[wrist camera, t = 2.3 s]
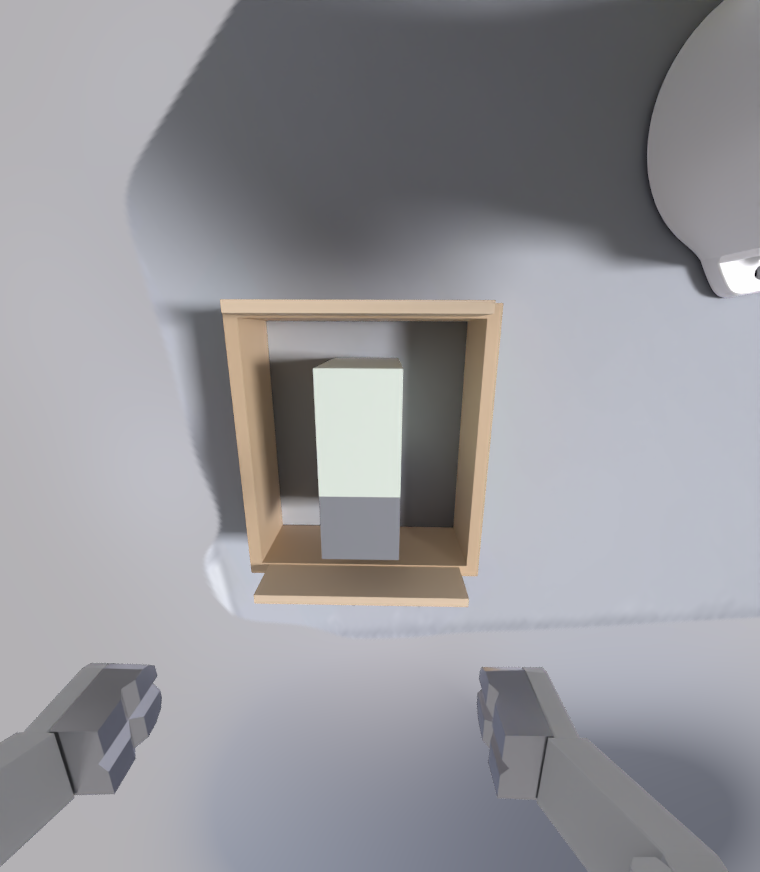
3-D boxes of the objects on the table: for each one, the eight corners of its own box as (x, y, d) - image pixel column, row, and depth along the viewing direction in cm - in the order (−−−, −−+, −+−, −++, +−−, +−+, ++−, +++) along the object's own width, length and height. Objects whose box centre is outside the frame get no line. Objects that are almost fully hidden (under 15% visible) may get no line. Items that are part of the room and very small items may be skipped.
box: (398, 358, 25) (403, 368, 18) (395, 498, 28) (399, 560, 21) (335, 357, 25) (312, 368, 18) (339, 497, 28) (321, 558, 21)
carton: (480, 309, 24) (523, 297, 16) (462, 536, 29) (489, 608, 21) (253, 308, 24) (192, 297, 17) (273, 533, 29) (233, 604, 22)
